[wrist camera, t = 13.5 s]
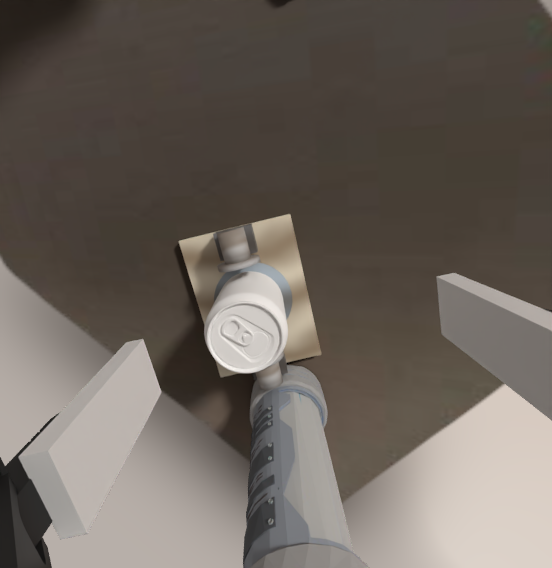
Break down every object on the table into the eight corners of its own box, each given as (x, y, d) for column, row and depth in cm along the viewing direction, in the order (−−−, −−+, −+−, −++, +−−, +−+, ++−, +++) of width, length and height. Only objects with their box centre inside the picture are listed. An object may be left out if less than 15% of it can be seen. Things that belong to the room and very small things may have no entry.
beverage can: (257, 342, 44) (254, 393, 32) (206, 307, 42) (184, 346, 31) (295, 295, 42) (306, 330, 31) (244, 257, 41) (235, 278, 29)
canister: (248, 422, 48) (220, 761, 19) (254, 359, 46) (231, 635, 17) (317, 427, 49) (391, 764, 19) (325, 365, 46) (426, 642, 17)
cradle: (181, 240, 42) (161, 248, 34) (289, 213, 41) (294, 216, 33) (221, 373, 46) (212, 407, 38) (319, 350, 46) (330, 380, 38)
